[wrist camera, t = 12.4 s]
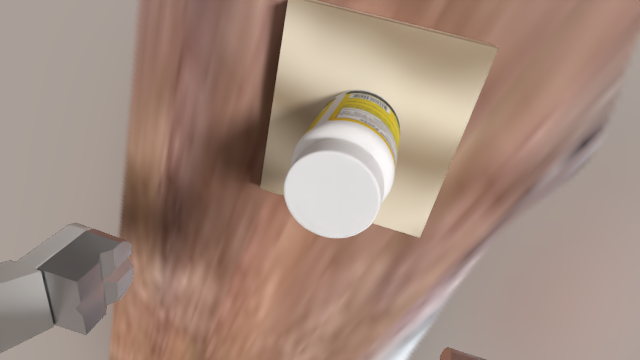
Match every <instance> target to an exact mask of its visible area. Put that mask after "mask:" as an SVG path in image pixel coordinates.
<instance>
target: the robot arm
mask: <svg viewBox="0 0 640 360" xmlns="http://www.w3.org/2000/svg"><path fill="white" fill-rule="evenodd" d="M131 254H132V245H131V243H130V242H128V241H126V240H123V239H120V238H118V237H115V236H112V235H109V234H107V233H104V232H101V231H98V230H95V229H92V228H89V227H87V226H84V225H81V224H78V223H73V224H69V225H67V226H66V227H64V228H63V229H62V230H60V231H59V232H57V233H56V234H54V235H53V236H52V237H51V238H49V239H47V240H46V241H45V242H43V243H42V244H40V245H39V246H37V247H36V248H35V249H33V250H32V251H30V252H29V253H28V254H26V255H25V256H23V257H22V258H20V259H19V260H18V261H16V262H15V261H12V260H9V261H5V262H1V263H0V353H2V352H4V351H6V350H8V349H10V348H12V347H14V346H16V345H18V344H20V343H22V342H24V341H26V340H28V339H30V338H32V337H34V336H36V335H38V334H40V333H42V332H44V331H46V330H48V329H50V328H52V327H54V325H57V326H60V327H63V328H66V329H69V330H72V331H75V332H78V333H81V334H84V335H87V334H88V333H89V332H90V331H91V329H93V327H94V326H95V325H96V324H97V323H98V322H99V321H100V320H101V319H102V318H103V317H104V316H105V315H106V308H107V305H109V304H111V303H114V302H116V301H119V300H120V298H121V297H122V296H123V295H124V294H125V293H126V291H127V290H128V288H129V286H130V284H131V282H132V279H133V274H134V267H133V264H132V263H131V262H130V260H129V259H128V257H129V256H130V255H131ZM440 360H486V359H483V358H480V357H477V356H473V355H470V354H467V353H464V352H461V351H458V350H455V349H452V348H449V347H447V348H446V349H444V351H443V352H442V354H441V356H440Z"/></svg>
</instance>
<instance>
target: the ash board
mask: <svg viewBox="0 0 640 360" xmlns="http://www.w3.org/2000/svg"><path fill="white" fill-rule="evenodd" d="M497 51H498V48H497V47H496V46H495V45H494V44H490V43H486V42H482V41H478V40H474V39H470V38H466V37H462V36H458V35H454V34H450V33H446V32H441V31H437V30H433V29H429V28H425V27H421V26H417V25H413V24H409V23H405V22H401V21H397V20H393V19H389V18H385V17H381V16H377V15H373V14H369V13H365V12H360V11H356V10H352V9H348V8H344V7H340V6H336V5H332V4H328V3H324V2H320V1H316V0H288V3H287V10H286V17H285V23H284V30H283V37H282V44H281V50H280V57H279V64H278V71H277V77H276V84H275V91H274V98H273V104H272V111H271V118H270V125H269V131H268V138H267V145H266V152H265V158H264V165H263V172H262V179H261V185H260V189H263V190H266V191H269V192H273V193H276V194H279V195H282V196H284V181H285V178H286V175H287V172H288V171H289V169H290V167H291V159H292V155H293V151H294V149H295V146H296V144H297V143H298V141H299V140H300V138H301V137H302V136H303V135H304V133H305V132H306V131H307V130H308V128H309V127H310V126H311V125H312V123H313V122H314V121H315V119H316V118H317V117H318V115H319V114H320V113H321V111H322V110H323V109H324V107H325V106H326V105H327V104H328V103H329V102H330V101H331V100H332V99H333V98H335V97H336V96H338V95H340V94H342V93H344V92H347V91H352V90H366V91H370V92H373V93H376V94H378V95H380V96H381V97H383V98H384V99H385V100H386V101H388V102H389V104H390V105H391V106H392V107H393V109H394V110H395V112H396V114H397V116H398V119H399V123H400V139H399V148H398V155H397V162H396V170H395V176H394V181H393V185H392V187H391V190H390V192H389V194H388V196H387V197H386V198H385V200H384V201H383V202H382V203H381V205H380V209H379V212H378V214H377V216H376V218H375V220H374V221H373V222H372V223H373V224H377V225H380V226H383V227H387V228H390V229H393V230H396V231H400V232H403V233H406V234H409V235H413V236H416V237H419V238H420V236H421V233H422V231H423V229H424V226H425V224H426V221H427V219H428V217H429V214H430V212H431V209H432V207H433V205H434V202H435V200H436V197H437V195H438V193H439V190H440V188H441V185H442V183H443V181H444V178H445V176H446V173H447V171H448V169H449V166H450V164H451V161H452V159H453V157H454V154H455V152H456V149H457V147H458V145H459V142H460V140H461V137H462V135H463V133H464V130H465V128H466V125H467V123H468V121H469V118H470V116H471V113H472V111H473V109H474V106H475V104H476V101H477V99H478V97H479V94H480V92H481V89H482V87H483V85H484V82H485V80H486V77H487V75H488V73H489V70H490V68H491V65H492V63H493V61H494V58H495V56H496V53H497Z"/></svg>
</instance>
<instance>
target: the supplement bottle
mask: <svg viewBox="0 0 640 360" xmlns="http://www.w3.org/2000/svg"><path fill="white" fill-rule="evenodd" d="M399 139H400V123H399V119H398V116H397V114H396V112H395V110H394V109H393V107H392V106H391V105H390V104H389V102H388V101H386V100H385V99H384V98H383V97H381V96H380V95H378V94H376V93H373V92H370V91H366V90H352V91H347V92H344V93H342V94H340V95H338V96H336V97H335V98H333V99H332V100H331V101H330V102H329V103H328V104H327V105H326V106H325V107H324V109H323V110H322V111H321V113H320V114H319V115H318V117H317V118H316V119H315V121H314V122H313V123H312V125H311V126H310V127H309V128H308V130H307V131H306V132H305V133H304V135H303V136H302V137H301V138H300V140H299V141H298V143H297V144H296V146H295V149H294V151H293V155H292V159H291V167H290V169H289V171H288V172H287V175H286V178H285V181H284V197H285V201H286V204H287V207H288V209H289V211H290V213H291V214H292V216H293V217H294V218H295V219H296V220H297V221H298V222H299V223H300V224H301V225H302V226H303V227H304V228H306V229H307V230H309V231H311V232H313V233H315V234H318V235H320V236H324V237H329V238H346V237H350V236H353V235H356V234H358V233H360V232H362V231H364V230H365V229H366V228H368V227H369V226H370V225H371V223H372V222H373V221H374V220H375V218H376V216H377V214H378V212H379V209H380V205H381V203H382V202H383V201H384V200H385V198H386V197H387V196H388V194H389V192H390V190H391V187H392V185H393V181H394V176H395V170H396V162H397V155H398V148H399Z"/></svg>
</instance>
